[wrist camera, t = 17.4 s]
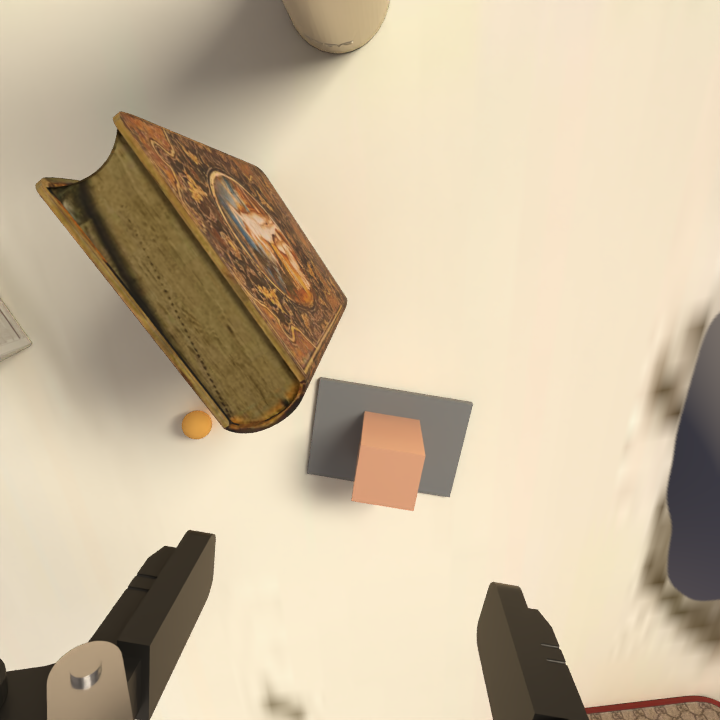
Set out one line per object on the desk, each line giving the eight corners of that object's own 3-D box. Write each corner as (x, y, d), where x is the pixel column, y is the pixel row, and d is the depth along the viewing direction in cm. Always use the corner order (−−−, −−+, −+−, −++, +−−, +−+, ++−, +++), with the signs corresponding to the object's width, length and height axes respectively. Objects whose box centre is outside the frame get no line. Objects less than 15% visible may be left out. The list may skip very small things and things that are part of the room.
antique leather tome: (354, 308, 47) (320, 397, 23) (311, 335, 48) (238, 447, 24) (261, 168, 43) (109, 103, 20) (218, 201, 45) (25, 177, 21)
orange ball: (189, 404, 51) (177, 415, 48) (216, 408, 51) (206, 420, 48) (188, 429, 52) (176, 441, 49) (215, 433, 52) (204, 446, 49)
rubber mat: (320, 377, 50) (319, 379, 49) (471, 402, 49) (472, 404, 49) (308, 470, 53) (307, 473, 53) (448, 494, 53) (449, 497, 52)
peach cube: (364, 411, 50) (360, 445, 42) (419, 420, 50) (425, 455, 42) (356, 459, 52) (351, 500, 44) (409, 468, 52) (413, 510, 44)
